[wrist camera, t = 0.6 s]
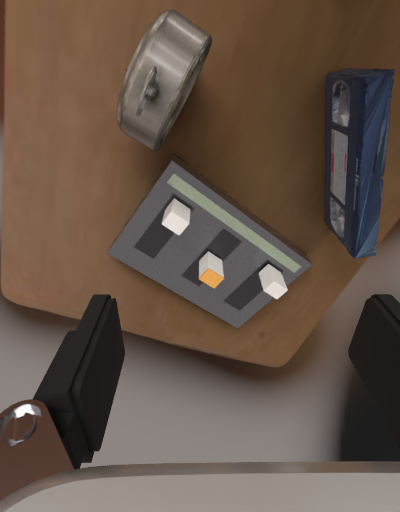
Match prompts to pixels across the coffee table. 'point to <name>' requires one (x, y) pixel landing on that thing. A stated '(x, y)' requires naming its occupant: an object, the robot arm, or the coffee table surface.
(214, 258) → the block
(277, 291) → the block
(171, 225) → the breaker
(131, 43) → the coffee table surface
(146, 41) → the dial indicator gauge
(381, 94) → the vhs cassette tape
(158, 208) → the breaker panel
